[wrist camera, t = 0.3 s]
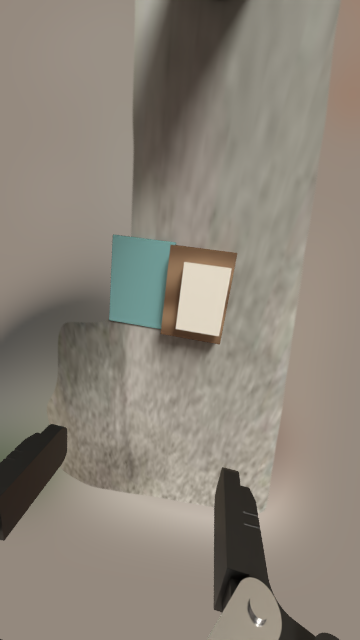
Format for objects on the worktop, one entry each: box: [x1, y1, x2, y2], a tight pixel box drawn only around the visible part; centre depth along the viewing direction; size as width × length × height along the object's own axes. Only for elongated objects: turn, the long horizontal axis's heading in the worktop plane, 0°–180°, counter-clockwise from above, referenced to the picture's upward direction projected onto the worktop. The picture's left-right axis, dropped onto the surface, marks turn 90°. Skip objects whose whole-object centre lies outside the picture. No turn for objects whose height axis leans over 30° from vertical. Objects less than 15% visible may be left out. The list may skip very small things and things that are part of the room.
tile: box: [176, 262, 232, 336], centre depth 30 cm, size 9×6×2 cm, turn 173°
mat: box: [109, 235, 176, 329], centre depth 36 cm, size 14×10×1 cm
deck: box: [161, 245, 237, 344], centre depth 34 cm, size 13×9×4 cm
